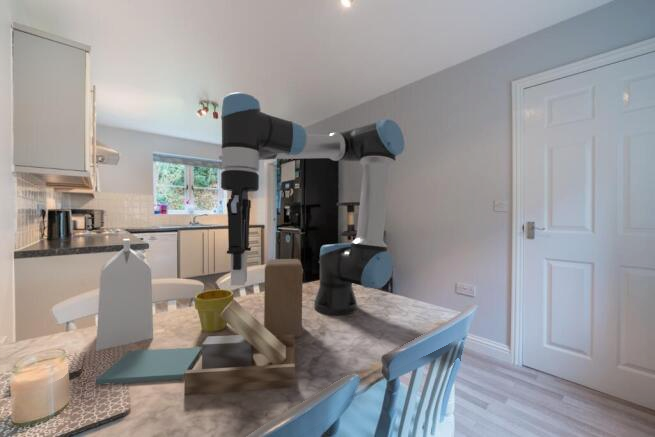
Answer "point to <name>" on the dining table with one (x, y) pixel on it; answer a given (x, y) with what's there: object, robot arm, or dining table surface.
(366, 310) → the dining table surface
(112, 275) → the milk
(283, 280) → the block
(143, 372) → the slate mat
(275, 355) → the birch bar
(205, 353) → the open wooden box
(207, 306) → the plant pot
